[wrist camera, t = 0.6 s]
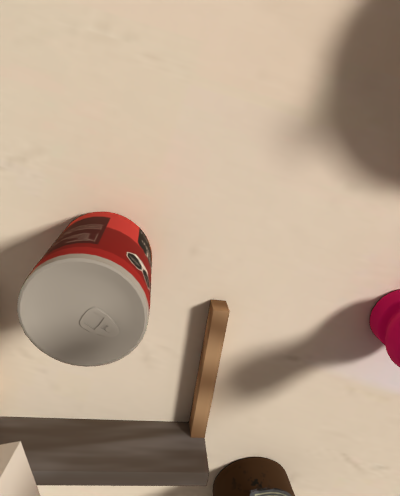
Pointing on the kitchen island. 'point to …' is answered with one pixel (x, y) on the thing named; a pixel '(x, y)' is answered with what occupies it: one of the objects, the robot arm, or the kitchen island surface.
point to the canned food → (90, 292)
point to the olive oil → (253, 479)
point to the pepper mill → (388, 324)
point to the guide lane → (126, 436)
